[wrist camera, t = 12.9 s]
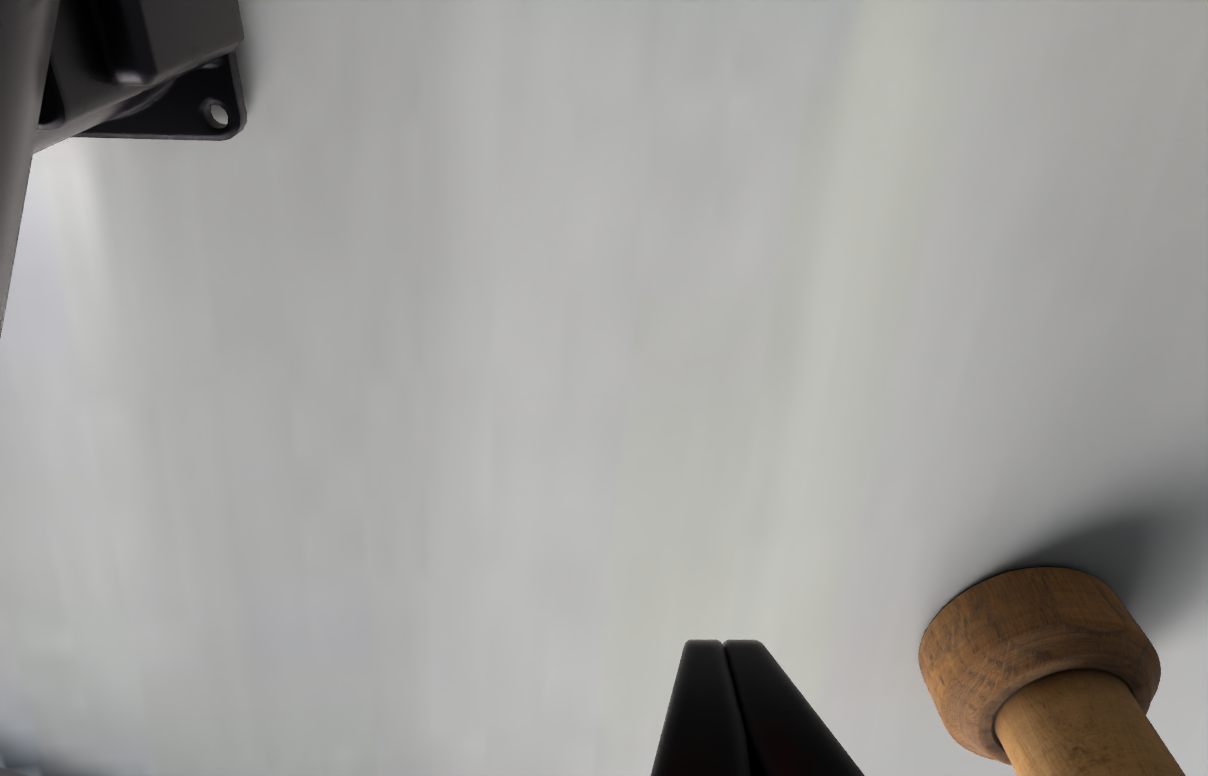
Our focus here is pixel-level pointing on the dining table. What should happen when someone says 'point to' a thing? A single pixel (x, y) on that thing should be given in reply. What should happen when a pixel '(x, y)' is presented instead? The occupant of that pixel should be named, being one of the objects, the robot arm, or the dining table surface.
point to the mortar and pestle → (1047, 676)
